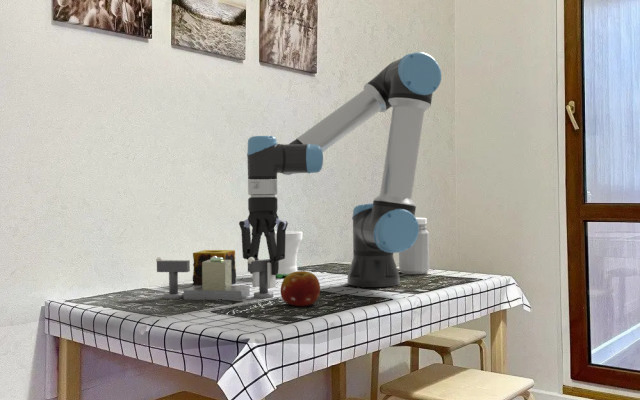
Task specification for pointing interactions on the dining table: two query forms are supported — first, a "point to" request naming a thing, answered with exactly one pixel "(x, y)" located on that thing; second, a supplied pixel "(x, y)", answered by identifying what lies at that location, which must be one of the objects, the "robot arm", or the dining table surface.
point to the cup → (289, 253)
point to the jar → (416, 252)
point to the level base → (216, 293)
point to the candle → (207, 255)
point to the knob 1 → (173, 274)
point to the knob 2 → (261, 276)
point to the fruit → (300, 288)
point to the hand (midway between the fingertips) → (264, 286)
